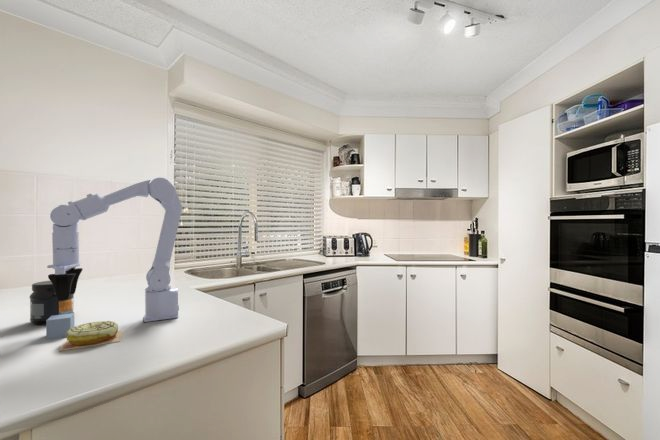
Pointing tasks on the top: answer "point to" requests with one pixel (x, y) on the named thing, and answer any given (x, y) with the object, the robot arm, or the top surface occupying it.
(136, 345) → the top surface
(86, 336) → the decorated donut
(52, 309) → the supplement container
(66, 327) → the powder blue cube
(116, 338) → the letter card
